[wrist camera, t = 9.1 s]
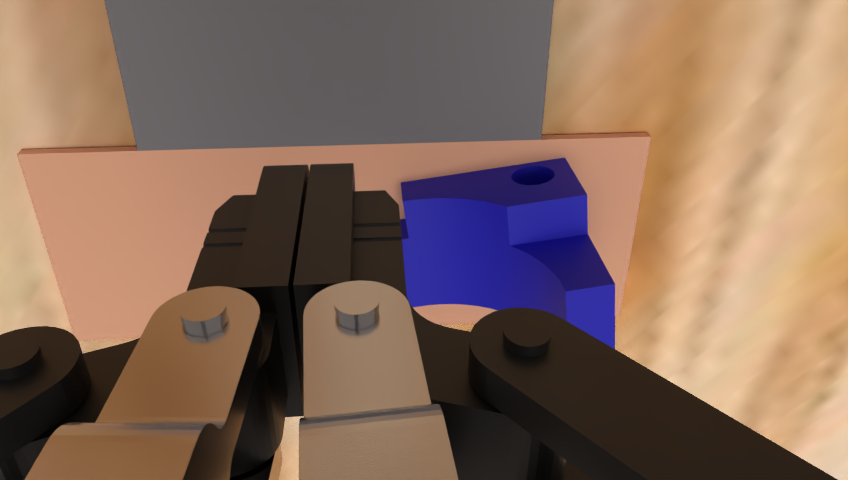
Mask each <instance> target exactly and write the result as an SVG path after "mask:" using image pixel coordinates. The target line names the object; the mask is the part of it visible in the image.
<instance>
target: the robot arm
mask: <svg viewBox="0 0 848 480" xmlns="http://www.w3.org/2000/svg"><path fill="white" fill-rule="evenodd" d="M208 230H209V233H207V235H206V237H205V240H204V243H203V248H202V249H201V251H200V254H199V257H198V260H197V263H196V265H195V268H194V271H193V274H192V277H191V279H190V282H189V285H188V288H187V291H186V292H184V293H181V294H179V295H177V296H175V297H173V298H171V299H169V300H168V301H166V302H165V303H164V304H162V305H161V306H160V307H159V308H158V309H157V310H156V311H155V312H154V313H153V315H152V316H151V318H150V320H149V322H148V324H147V326H146V328H145V329H144V331H143V333H142V335H141V337H140V338H138V339H136V340H133V341H130V342H127V343H123V344H120V345H116V346H112V347H108V348H104V349H100V350H96V351H92V352H88V353H84V354H82V351H81V348H80V345H79V342H78V340H77V339H76V337H75V336H74V335H73V334H71V333H70V332H68V331H66V330H64V329H60V328H56V327H47V326H43V327H29V328H23V329H18V330H14V331H11V332H7V333H4V334H2V335H0V480H278V479H279V475H280V470H281V465H282V452H281V446H280V443H281V440H282V436H283V429H284V421H285V417H295V416H304V418H300V423H299V480H837V479H835V478H834V477H832V476H830V475H829V474H827V473H825V472H824V471H822V470H820V469H818V468H817V467H815V466H813V465H812V464H810V463H808V462H806V461H805V460H803V459H801V458H800V457H798V456H796V455H794V454H793V453H791V452H789V451H788V450H786V449H784V448H782V447H781V446H779V445H777V444H776V443H774V442H772V441H771V440H769V439H767V438H765V437H764V436H762V435H760V434H759V433H757V432H755V431H753V430H752V429H750V428H748V427H747V426H745V425H743V424H741V423H740V422H738V421H736V420H735V419H733V418H731V417H730V416H728V415H726V414H724V413H723V412H721V411H719V410H718V409H716V408H714V407H712V406H711V405H709V404H707V403H706V402H704V401H702V400H700V399H699V398H697V397H695V396H694V395H692V394H690V393H689V392H687V391H685V390H683V389H682V388H680V387H678V386H677V385H675V384H673V383H671V382H670V381H668V380H666V379H665V378H663V377H661V376H659V375H658V374H656V373H654V372H653V371H651V370H649V369H647V368H646V367H644V366H642V365H641V364H639V363H637V362H636V361H634V360H632V359H630V358H629V357H627V356H625V355H624V354H622V353H620V352H618V351H617V350H615V349H613V348H612V347H610V346H608V345H606V344H605V343H603V342H601V341H600V340H598V339H596V338H595V337H593V336H591V335H589V334H588V333H586V332H584V331H583V330H581V329H579V328H577V327H576V326H574V325H572V324H571V323H569V322H567V321H565V320H564V319H562V318H560V317H558V316H556V315H554V314H552V313H549V312H546V311H542V310H538V309H533V308H521V307H516V308H507V309H501V310H498V311H495V312H492V313H490V314H488V315H486V316H484V317H483V318H481V319H480V320H479V321H478V322H477V323H476V324H475V325H474V327H473V329H472V330H471V332H469V331H463V330H458V329H452V328H448V327H444V326H441V325H438V324H435V323H433V322H431V321H429V320H427V319H426V318H424V317H423V316H421V315H420V314H419V313H417V312H416V311H415V310H414V308H413V307H412V306H411V305H410V302H409V300H408V298H407V292H406V281H405V269H404V258H403V246H402V235H401V225H400V212H399V205H398V203H397V202H396V201H395V200H394V199H393V198H392V197H391V196H390V195H389V194H388V193H387V192H386V191H385V190H377V191H355V174H354V164H353V163H338V164H311V165H310V171H309V167H308V165H275V166H264V167H263V169H262V173H261V177H260V181H259V184H258V188H257V192H256V195H233V196H232V197H231V198H229V199H228V200H227V201H226V202H225V203H224V204H223V205H221V206H220V207H219V208H218V209H217V210H216V211H215V212H214V215H213V218H212V221H211V223H210V226H209V229H208Z"/></svg>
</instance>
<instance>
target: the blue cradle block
mask: <svg viewBox="0 0 848 480" xmlns="http://www.w3.org/2000/svg"><path fill="white" fill-rule="evenodd" d="M401 191H402V201H403V207H404V213H405V219H400V225H401V235H402V246H403V258H404V269H405V281H406V292H407V298H408V300H409V302H410V305H411V306H412V307H420V306H426V305H438V304H462V305H473V306H480V307H485V308H490V309H494V310H501V309H507V308H516V307H521V308H533V309H538V310H542V311H546V312H549V313H552V314H554V315H556V316H558V317H560V318H562V319H564V320H565V321H567V322H569V323H571V324H572V325H574V326H576V327H577V328H579V329H581V330H583V331H584V332H586V333H588V334H589V335H591V336H593V337H595V338H596V339H598V340H600V341H601V342H603V343H605V344H606V345H608V346H610V347H612V348H613V349H615V283H614V281H613V279H612V277H611V275H610V274H609V272H608V270H607V268H606V266H605V264H604V263H603V261H602V259H601V257H600V255H599V253H598V252H597V250H596V248H595V246H594V244H593V242H592V241H591V239H590V237H589V235H588V208H587V193H586V192H585V190H584V188H583V187H582V185H581V183H580V182H579V180H578V178H577V177H576V175H575V173H574V172H573V170H572V168H571V167H570V165H569V163H568V162H567V160H566V158H558V159H551V160H545V161H538V162H532V163H525V164H519V165H512V166H506V167H499V168H492V169H486V170H479V171H473V172H466V173H460V174H453V175H446V176H440V177H433V178H427V179H420V180H414V181H407V182H401Z"/></svg>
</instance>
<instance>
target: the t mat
mask: <svg viewBox="0 0 848 480" xmlns="http://www.w3.org/2000/svg"><path fill="white" fill-rule="evenodd" d="M553 3H554V0H105V4H106V9H107V14H108V18H109V23H110V27H111V32H112V36H113V41H114V45H115V50H116V54H117V59H118V63H119V68H120V72H121V77H122V82H123V86H124V91H125V95H126V100H127V104H128V109H129V113H130V118H131V122H132V127H133V131H134V136H135V141H136V145H137V146H133V147H97V148H60V149H23V150H21V151H20V152H19V153H18V154H17V155H18V159H19V162H20V165H21V168H22V171H23V175H24V178H25V181H26V184H27V187H28V190H29V194H30V197H31V200H32V203H33V206H34V209H35V213H36V216H37V219H38V222H39V225H40V229H41V232H42V235H43V238H44V241H45V244H46V248H47V251H48V254H49V257H50V260H51V264H52V267H53V270H54V273H55V276H56V279H57V283H58V286H59V289H60V292H61V295H62V298H63V302H64V305H65V308H66V311H67V314H68V318H69V321H70V324H71V327H72V330H73V333H74V336H75V337H76V339H77V340H100V339H123V338H140V337H141V335H142V333H143V331H144V329H145V328H146V326H147V324H148V322H149V320H150V318H151V316H152V315H153V313H154V312H155V311H156V310H157V309H158V308H159V307H160V306H161V305H162V304H164V303H165V302H166V301H168V300H169V299H171V298H173V297H175V296H177V295H179V294H181V293H184V292H186V291H187V288H188V285H189V282H190V279H191V277H192V274H193V271H194V268H195V265H196V263H197V260H198V257H199V254H200V251H201V249H202V248H203V243H204V240H205V237H206V235H207V233H209V230H208V229H209V226H210V223H211V221H212V218H213V215H214V212H215V211H216V210H217V209H218V208H219V207H220V206H221V205H223V204H224V203H225V202H226V201H227V200H228V199H229V198H231V197H232V196H233V195H256V192H257V188H258V184H259V181H260V177H261V173H262V169H263V167H264V166H275V165H308V167H309V171H310V165H311V164H338V163H353V164H354V174H355V191H377V190H385V191H386V192H387V193H388V194H389V195H390V196H391V197H392V198H393V199H394V200H395V201H396V202H397V203H398V205H399V212H400V219H405V213H404V207H403V201H402V191H401V182H407V181H414V180H420V179H427V178H433V177H440V176H446V175H453V174H460V173H466V172H473V171H479V170H486V169H492V168H499V167H506V166H512V165H519V164H525V163H532V162H538V161H545V160H551V159H558V158H566V160H567V162H568V163H569V165H570V167H571V168H572V170H573V172H574V173H575V175H576V177H577V178H578V180H579V182H580V183H581V185H582V187H583V188H584V190H585V192H586V193H587V208H588V235H589V237H590V239H591V241H592V242H593V244H594V246H595V248H596V250H597V252H598V253H599V255H600V257H601V259H602V261H603V263H604V264H605V266H606V268H607V270H608V272H609V274H610V275H611V277H612V279H613V281H614V283H615V317H620V312H621V306H622V301H623V295H624V289H625V284H626V278H627V272H628V266H629V261H630V255H631V249H632V243H633V238H634V232H635V226H636V221H637V215H638V209H639V203H640V198H641V192H642V186H643V180H644V175H645V169H646V163H647V158H648V152H649V146H650V140H651V136H650V135H649V134H648V133H647V132H646V133H610V134H573V135H542V124H543V113H544V102H545V91H546V80H547V69H548V58H549V47H550V36H551V25H552V14H553ZM413 308H414V310H415V311H416V312H417V313H419V314H420V315H421V316H423V317H424V318H426V319H427V320H429V321H431V322H433V323H435V324H438V325H441V324H464V323H477V322H478V321H479V320H480V319H481V318H483V317H484V316H486V315H488V314H490V313H492V312H495V311H498V310H494V309H490V308H485V307H480V306H473V305H462V304H438V305H426V306H420V307H413Z"/></svg>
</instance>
